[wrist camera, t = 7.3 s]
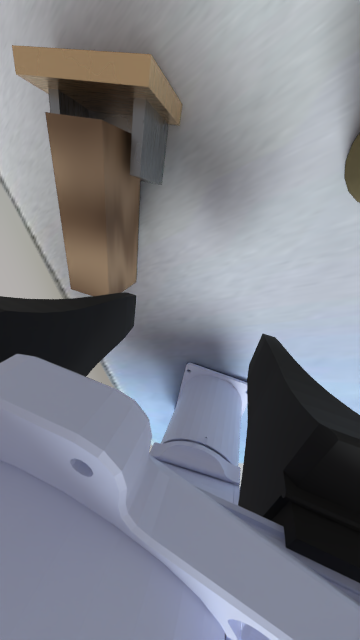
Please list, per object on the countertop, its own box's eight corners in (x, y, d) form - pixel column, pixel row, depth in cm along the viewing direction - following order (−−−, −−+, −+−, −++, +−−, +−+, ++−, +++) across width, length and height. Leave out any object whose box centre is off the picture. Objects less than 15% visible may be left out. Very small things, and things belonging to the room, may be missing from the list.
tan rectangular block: (136, 282, 23) (109, 301, 19) (104, 272, 24) (71, 289, 20) (141, 138, 16) (101, 119, 12) (97, 132, 17) (45, 112, 13)
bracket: (171, 186, 18) (141, 175, 13) (81, 169, 20) (26, 154, 15) (182, 104, 16) (151, 54, 11) (78, 93, 17) (12, 45, 12)
